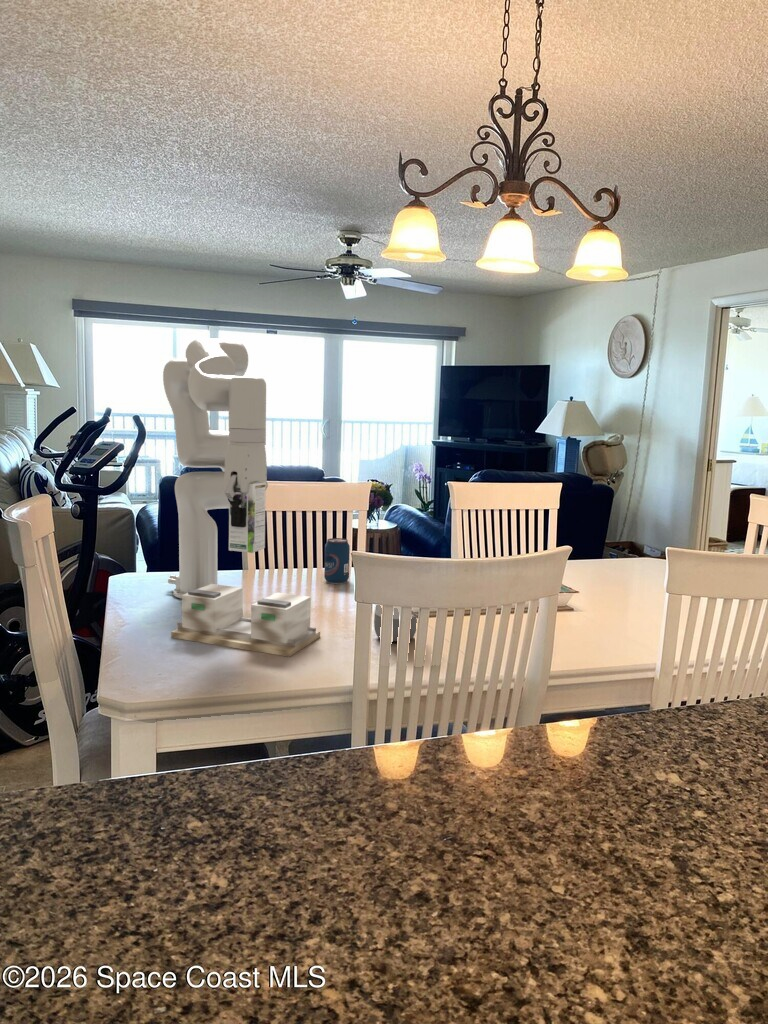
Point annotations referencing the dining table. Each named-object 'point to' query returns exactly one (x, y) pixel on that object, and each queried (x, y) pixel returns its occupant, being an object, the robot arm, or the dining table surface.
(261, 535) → the syrup box
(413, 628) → the smart speaker
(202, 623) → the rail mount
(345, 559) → the soda can
